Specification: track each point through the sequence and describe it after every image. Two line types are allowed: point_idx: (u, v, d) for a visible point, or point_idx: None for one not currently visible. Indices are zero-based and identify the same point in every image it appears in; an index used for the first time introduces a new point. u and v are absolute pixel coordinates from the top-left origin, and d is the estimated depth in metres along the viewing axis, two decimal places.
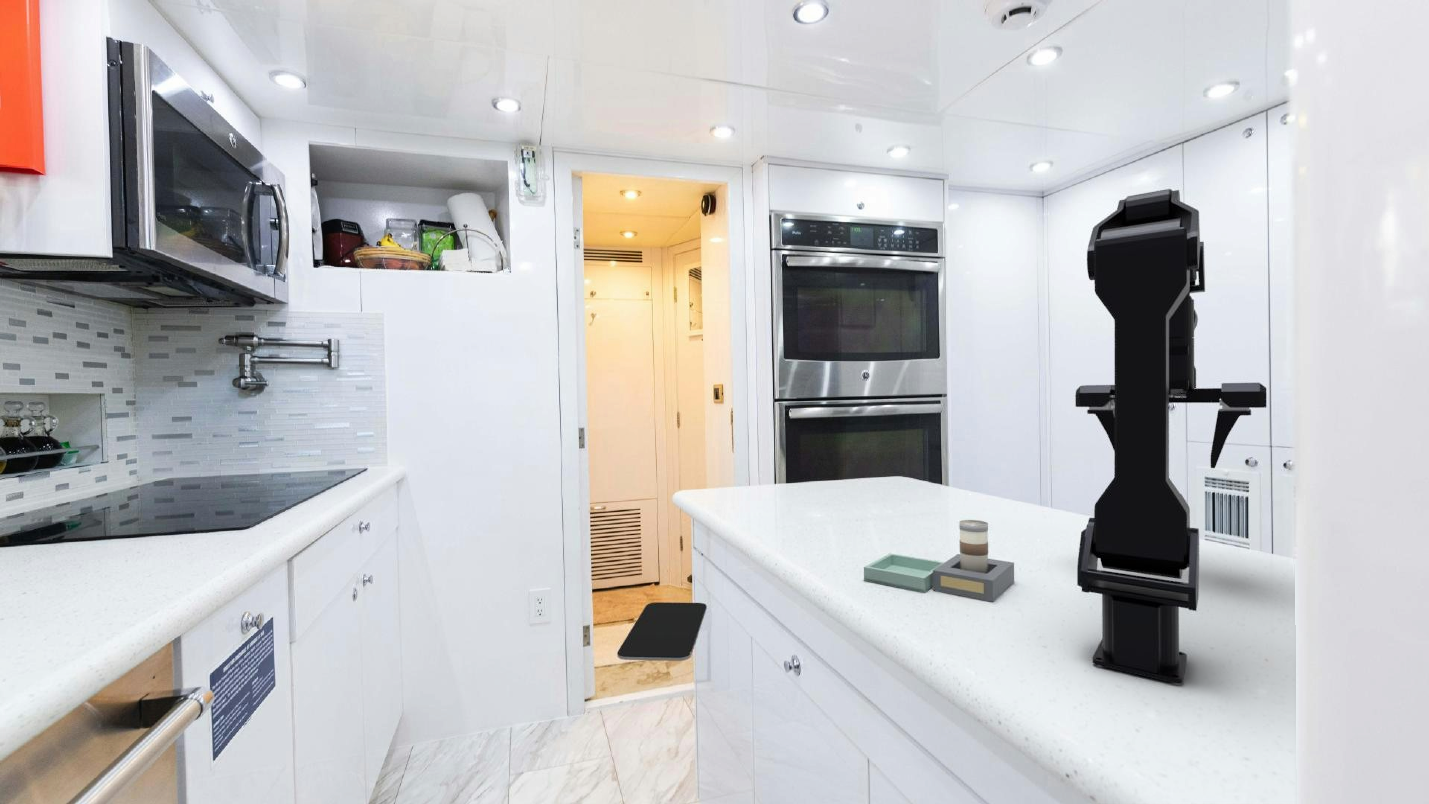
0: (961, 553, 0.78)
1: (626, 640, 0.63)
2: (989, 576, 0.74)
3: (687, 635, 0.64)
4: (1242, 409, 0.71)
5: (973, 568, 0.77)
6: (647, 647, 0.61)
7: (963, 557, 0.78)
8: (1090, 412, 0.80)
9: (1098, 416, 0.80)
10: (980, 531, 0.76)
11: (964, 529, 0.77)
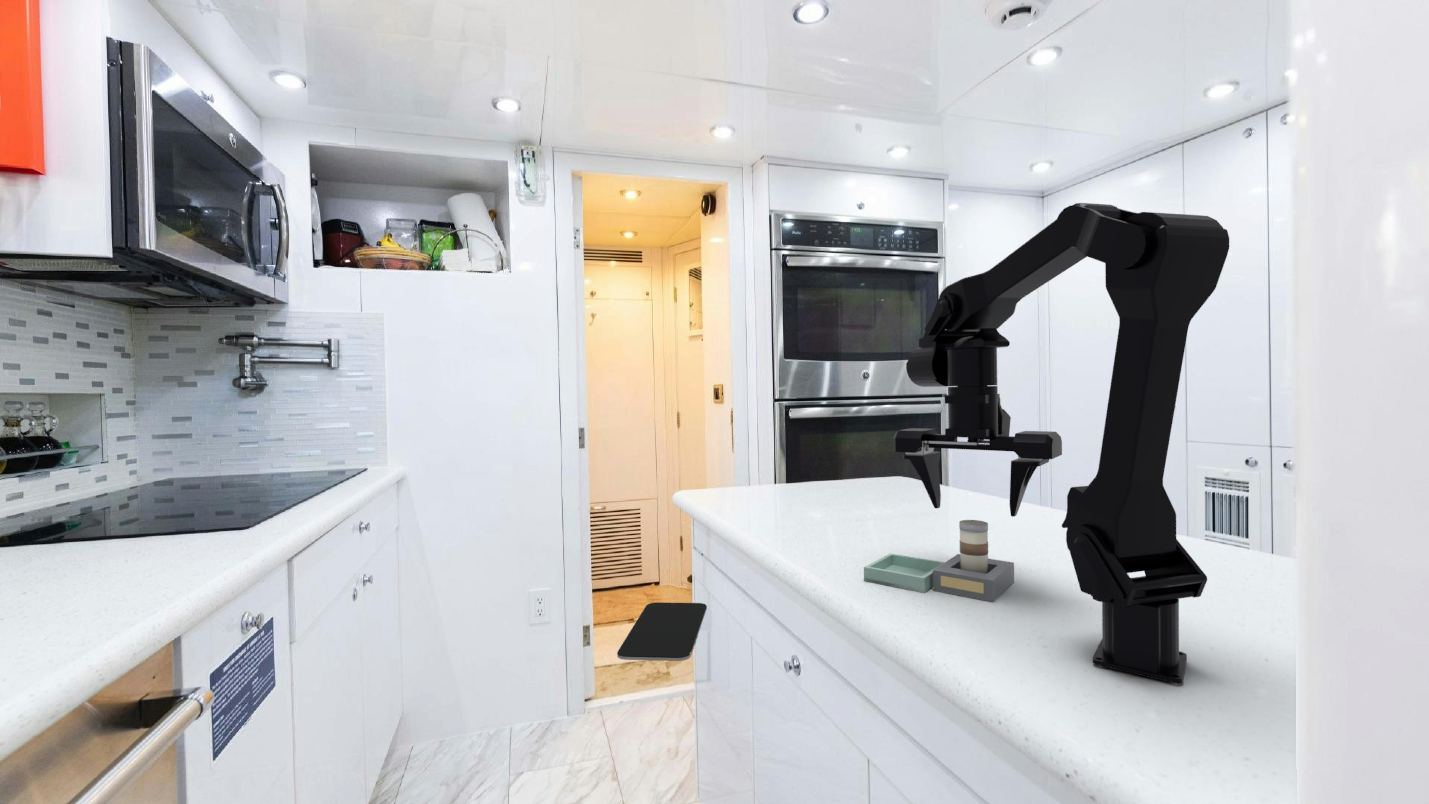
0: (961, 553, 0.78)
1: (626, 640, 0.63)
2: (989, 576, 0.74)
3: (687, 635, 0.64)
4: (1034, 459, 0.72)
5: (973, 568, 0.77)
6: (647, 647, 0.61)
7: (963, 557, 0.78)
8: (905, 457, 0.80)
9: (912, 462, 0.80)
10: (980, 531, 0.76)
11: (964, 529, 0.77)
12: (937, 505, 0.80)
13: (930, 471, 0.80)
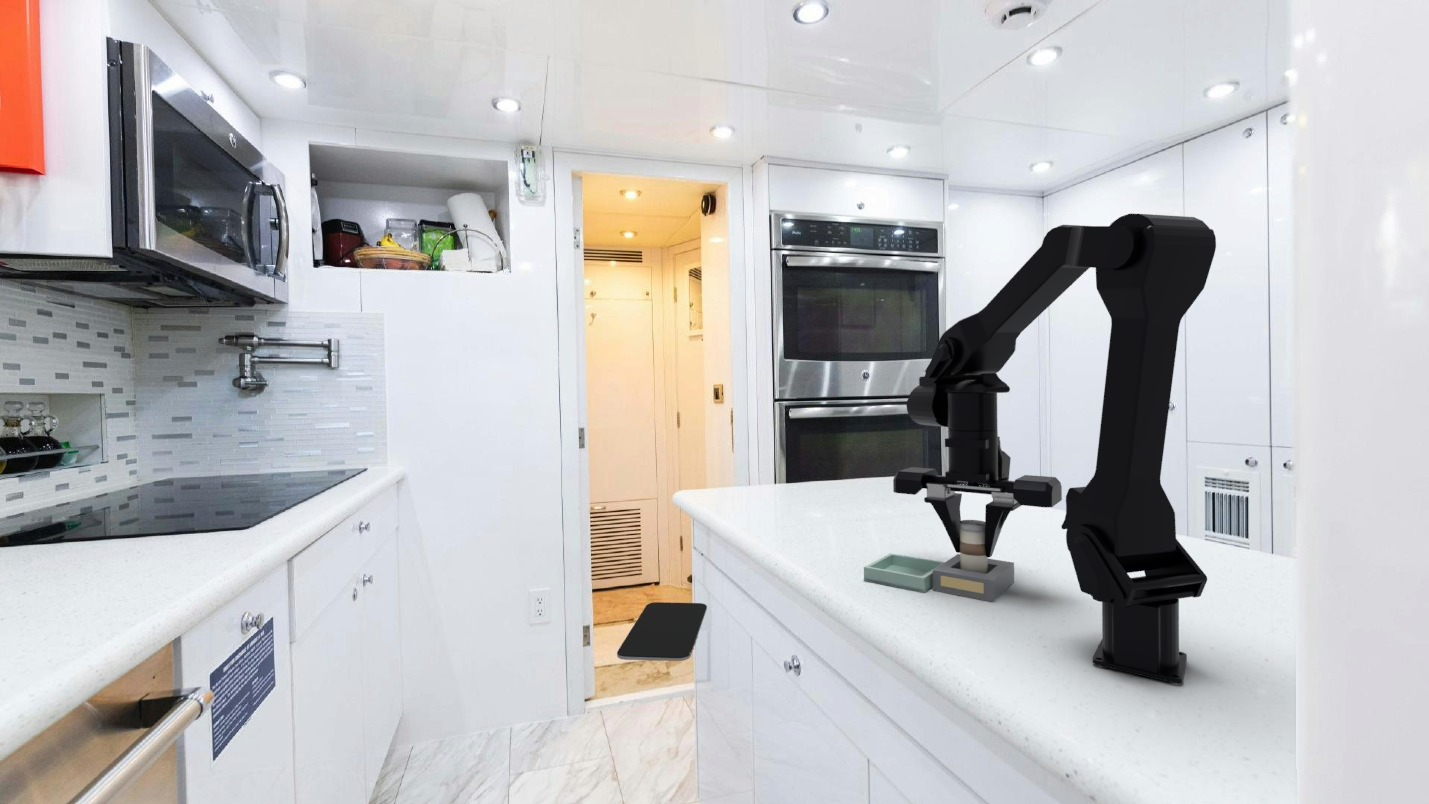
0: (961, 553, 0.78)
1: (626, 640, 0.63)
2: (989, 576, 0.74)
3: (687, 635, 0.64)
4: (1008, 503, 0.74)
5: (973, 568, 0.77)
6: (647, 647, 0.61)
7: (963, 557, 0.78)
8: (926, 501, 0.79)
9: (933, 506, 0.78)
10: (980, 531, 0.76)
11: (964, 529, 0.77)
12: (959, 549, 0.79)
13: (952, 515, 0.78)
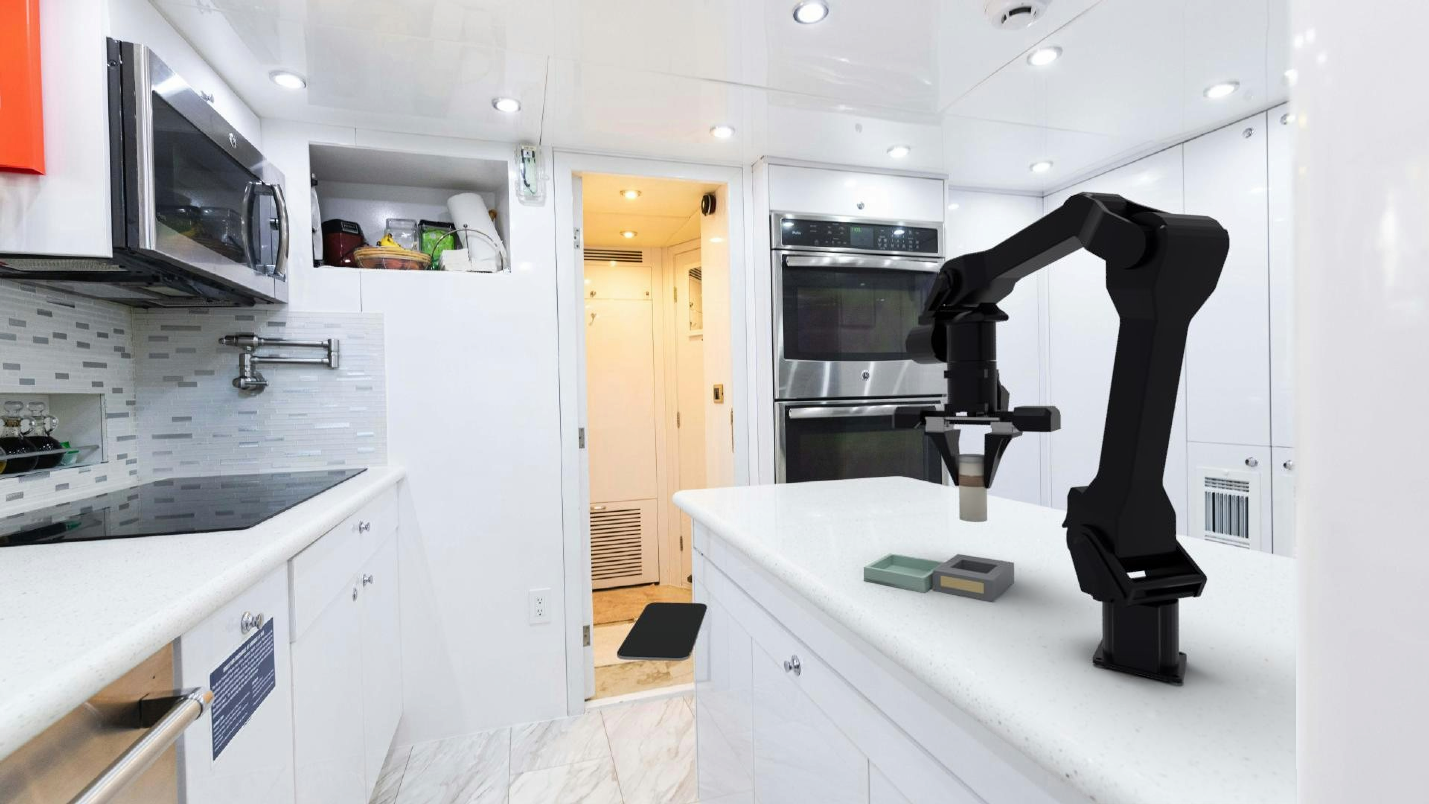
0: (960, 486, 0.78)
1: (626, 640, 0.63)
2: (989, 576, 0.74)
3: (687, 635, 0.64)
4: (1007, 432, 0.74)
5: (972, 499, 0.76)
6: (646, 647, 0.61)
7: (962, 489, 0.77)
8: (925, 434, 0.78)
9: (932, 438, 0.78)
10: (979, 462, 0.76)
11: (963, 461, 0.77)
12: (958, 483, 0.78)
13: (951, 447, 0.78)
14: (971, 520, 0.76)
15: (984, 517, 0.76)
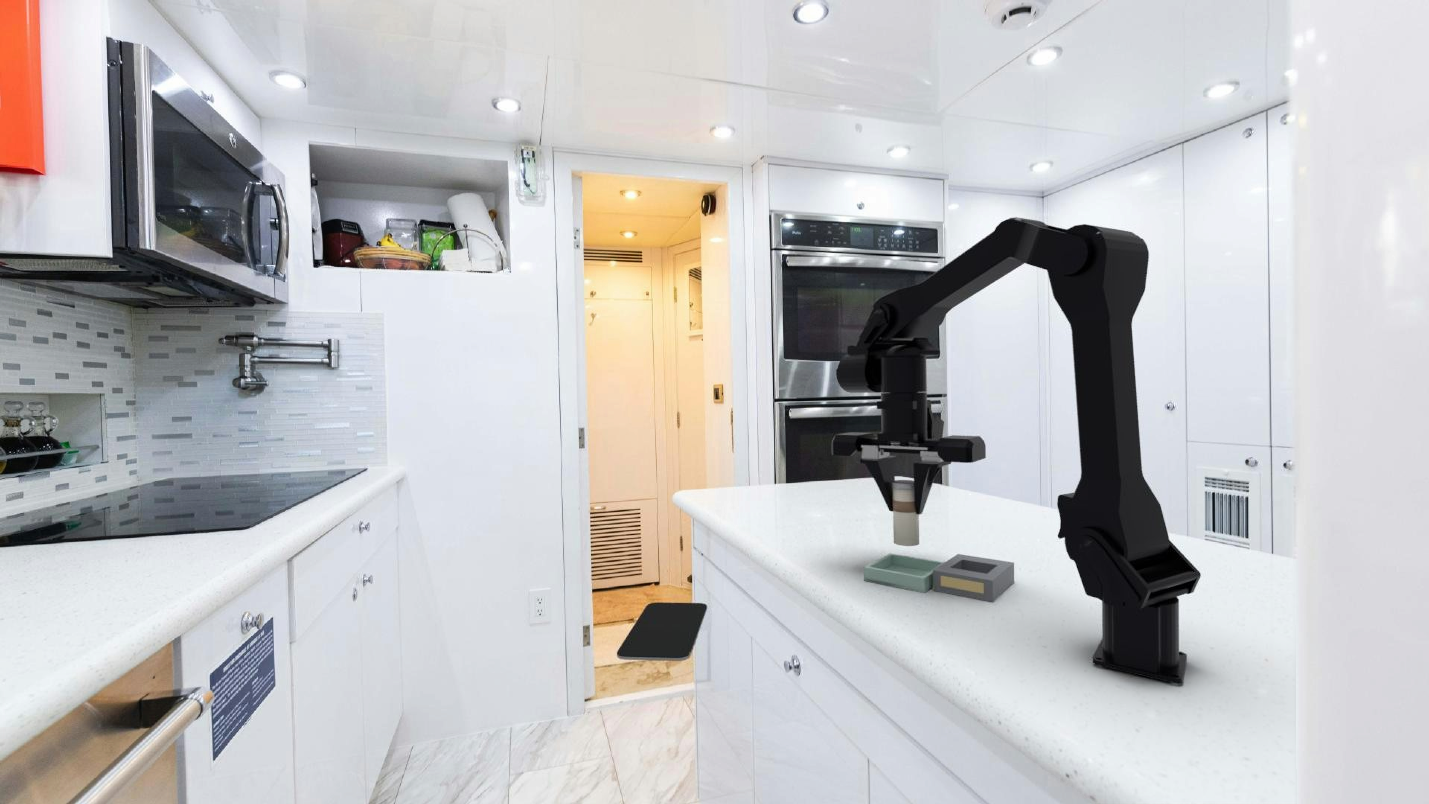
0: (893, 511, 0.81)
1: (626, 640, 0.63)
2: (989, 576, 0.74)
3: (687, 635, 0.64)
4: (934, 461, 0.77)
5: (904, 524, 0.80)
6: (646, 647, 0.61)
7: (895, 515, 0.81)
8: (860, 462, 0.82)
9: (867, 466, 0.82)
10: (910, 489, 0.80)
11: (896, 487, 0.81)
12: (892, 508, 0.82)
13: (885, 475, 0.82)
14: (903, 544, 0.80)
15: (915, 541, 0.80)
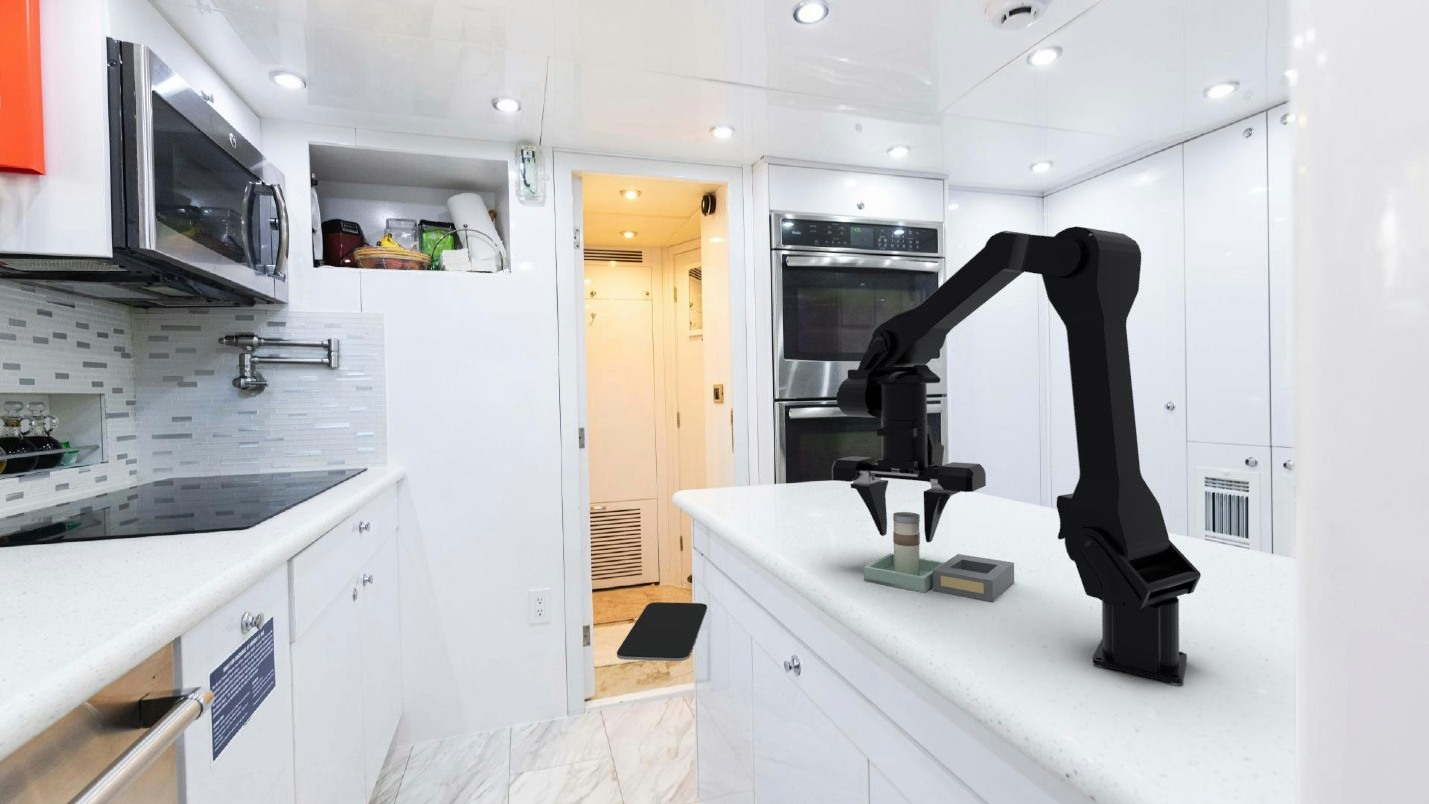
0: (894, 544, 0.81)
1: (626, 640, 0.63)
2: (989, 576, 0.74)
3: (687, 635, 0.64)
4: (945, 490, 0.76)
5: (905, 558, 0.80)
6: (646, 647, 0.61)
7: (896, 547, 0.81)
8: (852, 487, 0.83)
9: (858, 491, 0.83)
10: (911, 522, 0.80)
11: (897, 520, 0.81)
12: (883, 533, 0.83)
13: (876, 500, 0.83)
14: None
15: (916, 574, 0.80)
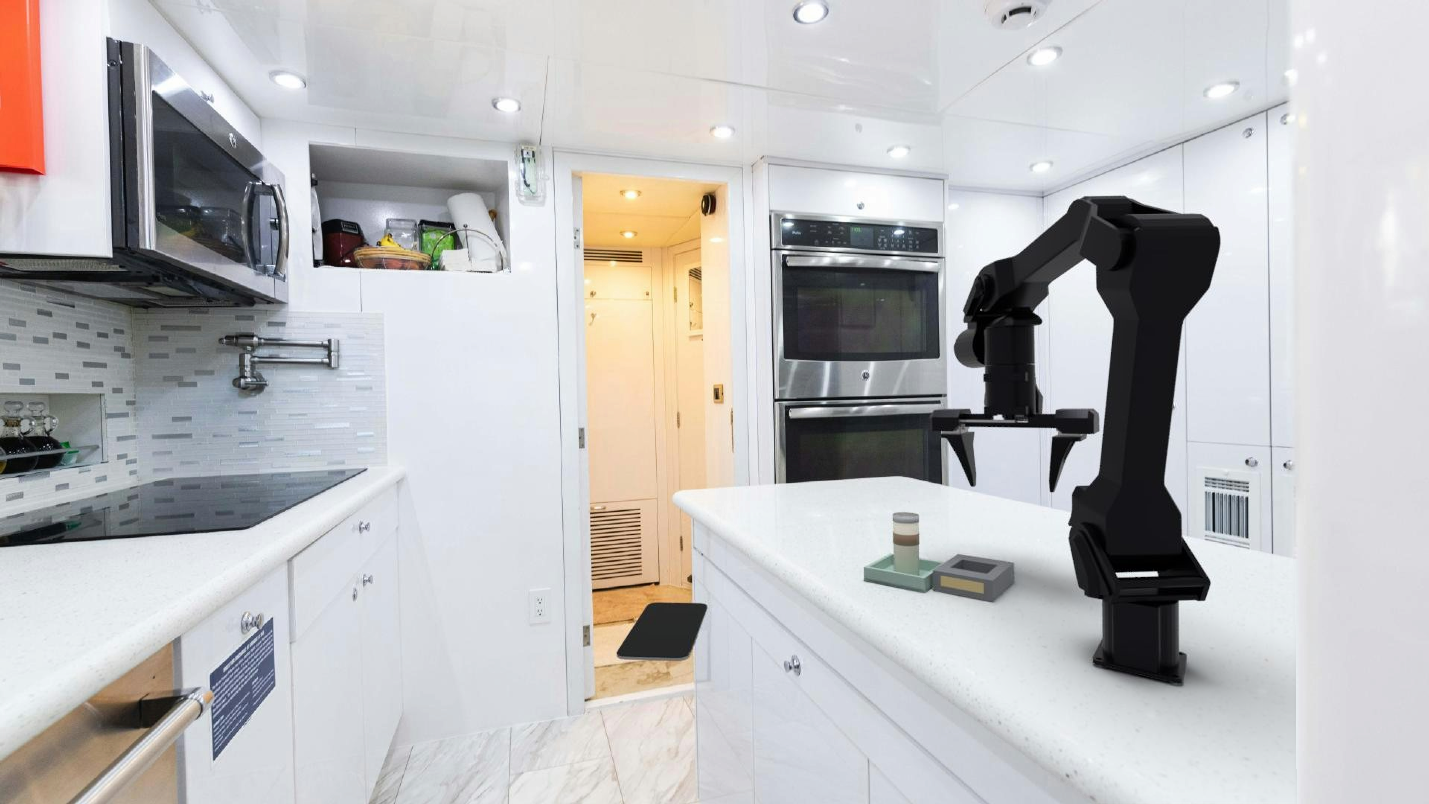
0: (894, 544, 0.81)
1: (626, 640, 0.63)
2: (989, 576, 0.74)
3: (687, 635, 0.64)
4: (1074, 435, 0.73)
5: (905, 558, 0.80)
6: (646, 647, 0.61)
7: (895, 547, 0.81)
8: (942, 436, 0.81)
9: (949, 441, 0.81)
10: (911, 523, 0.80)
11: (896, 521, 0.81)
12: (973, 483, 0.81)
13: (967, 449, 0.81)
14: None
15: None
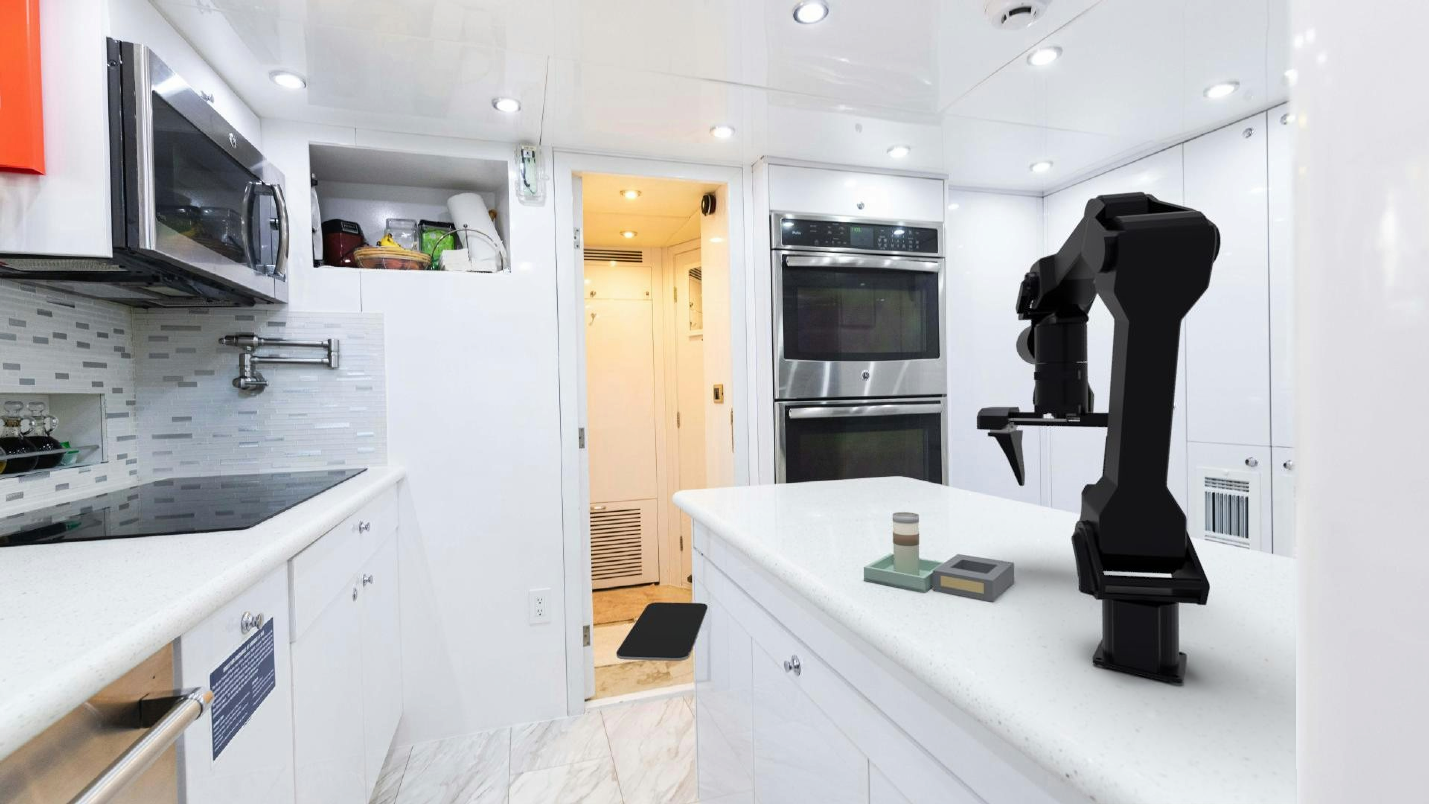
0: (894, 544, 0.81)
1: (626, 640, 0.63)
2: (989, 576, 0.74)
3: (687, 635, 0.64)
4: None
5: (905, 558, 0.80)
6: (646, 647, 0.61)
7: (895, 547, 0.81)
8: (990, 435, 0.80)
9: (997, 439, 0.80)
10: (910, 522, 0.80)
11: (896, 521, 0.81)
12: (1022, 483, 0.80)
13: (1016, 448, 0.80)
14: None
15: (916, 574, 0.80)
